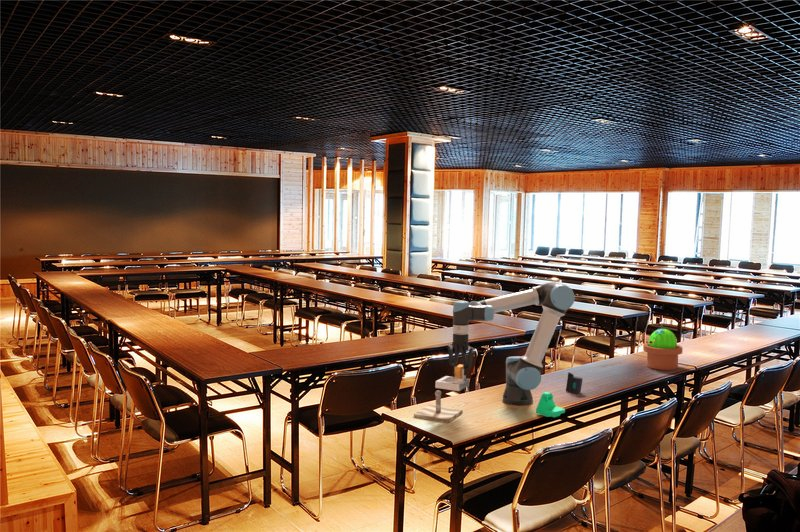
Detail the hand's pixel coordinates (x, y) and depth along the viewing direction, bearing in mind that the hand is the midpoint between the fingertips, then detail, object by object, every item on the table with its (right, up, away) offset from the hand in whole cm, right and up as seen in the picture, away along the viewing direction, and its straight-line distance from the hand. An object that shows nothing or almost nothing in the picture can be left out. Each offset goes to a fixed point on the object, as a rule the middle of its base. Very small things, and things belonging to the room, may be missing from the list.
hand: (460, 381), depth 283 cm
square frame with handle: (-3, -1, -6) cm, 7 cm away
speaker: (+65, -12, +32) cm, 73 cm away
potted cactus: (+136, -8, +85) cm, 160 cm away
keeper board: (-11, -15, -4) cm, 19 cm away
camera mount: (+43, -15, -5) cm, 45 cm away
